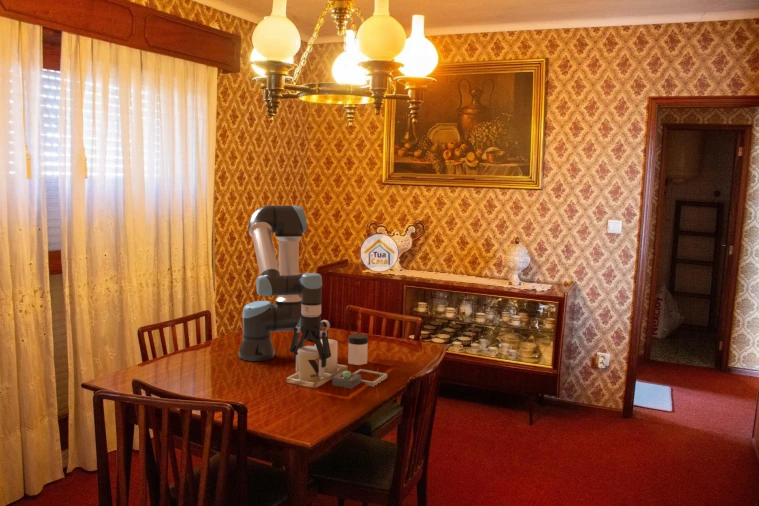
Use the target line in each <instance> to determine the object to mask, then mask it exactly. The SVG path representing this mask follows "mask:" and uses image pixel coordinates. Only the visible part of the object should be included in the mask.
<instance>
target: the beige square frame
mask: <svg viewBox="0 0 759 506" xmlns="http://www.w3.org/2000/svg"><path fill="white" fill-rule="evenodd" d="M361 372H365V373H369V374H373V375H374V374H375V375H377V377H378V378H377V379H375V380H373V381H371V380H365V379H361V383H364V385H365V386H369V387H375V385H376V386H378V385H379V384H380V383H381V381H382V382H383V381H384V380H386V379H387V378H388V373H384V372H379V371H373V370H370V369H369V370H368V369H364V368H363V369H362V368H360V369H358V370H356V371H354V372H353V373H354V374H359V373H361ZM378 383H379V384H378Z"/></svg>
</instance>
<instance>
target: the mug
mask: <svg viewBox="0 0 759 506" xmlns="http://www.w3.org/2000/svg"><path fill="white" fill-rule="evenodd" d="M324 323H325V325H326V329H324ZM330 327H331V324H330V322H329V320H326V319H323V320H322V319H321V326H320V328H321V331H328V332H329V330H330ZM319 336H320V339H322V337H321V334H320V335H319ZM316 340H317V339H316Z"/></svg>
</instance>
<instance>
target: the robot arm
mask: <svg viewBox="0 0 759 506" xmlns="http://www.w3.org/2000/svg"><path fill="white" fill-rule="evenodd" d="M247 225H248V228H247V229H248V235H249V236H250V238H252V242H253V247H254V251H255V256H256V263H257V266H258V272H259V276H257V277H256V281H255V288H256V293H257V295H259V296H260V297H261V296H264V297H271V296H272V297H273V296H277V297H276V298H275V300H274V304H272V303H271V301H269V300H257V301H252V302H250V303H247V304H245V305H244V307H243V309H242V339H241V343H240V346H239V350H238V353H237V354H238V356H239V357H238V358H239V359H240V358H241V359H240V360H242V359H243V360H242V361H246V360H247V362H263V361H267V360H271V359H273V358H274V357H275V349H274V346H273V345H274V344H273V343H272V339H271V333H273V332H290V331H291V332H293V334H292V340H291V344H290V348H289V352H290V353H293V357H294V358H293V360H294V363H295V373H297V372H299V366H298V349H299V348H301V347H303V346H304V345H305V343H306V341H307V340H310V341H312V342H313V344H314V346H315V345H316V347H317V350H318V352H319V355H320V357H321V358H320V359H319V376H322V375H324V367H326V358H329V357H331V352H330V347H329V341H328V339H329V330H328V331H321V328H320V326H321V321H322V316H321V315H322V291H323V290H322V289H323V277H322V275H321V274H320V273H316V272H306V273H303V272H301V273H300V272H299V267H300V263H299V261H300V255H299V254H300V249H299V248H300V243H299V241H300V240H301V239H302V238H303V234H304V233H306V232H307V217H306V212H305V211H304V209H303V207H301V206H299V205H276V204H275V205H271V204H269V205H268V204H267V205H262V206H261V207H259V208H257V209H256V210H255V211H254V212H253V213H252V215H251V216H250V218H249V220H248V224H247ZM272 234H274V237H275V238H276V240H277V241H278V259H277V255H276V250H275V246H274V243H273V237H272ZM300 334H301V337H300ZM320 334H321V337H322V338H320V336H319V335H320ZM299 338H300V339H299ZM316 339H317V340H316ZM321 339H322V343H323V345H322V343H321Z"/></svg>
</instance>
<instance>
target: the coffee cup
mask: <svg viewBox="0 0 759 506" xmlns="http://www.w3.org/2000/svg"><path fill="white" fill-rule="evenodd" d="M320 358H321V357H320V355H319V352H318V350H317V347H316V346H315V345H305V346H304V345H303V347H301V348H299V349H298V366H299V371H298V372H299V380H303V381H308V382H313V383H315V382H317V381H319V380H320V376H319V359H320Z"/></svg>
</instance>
